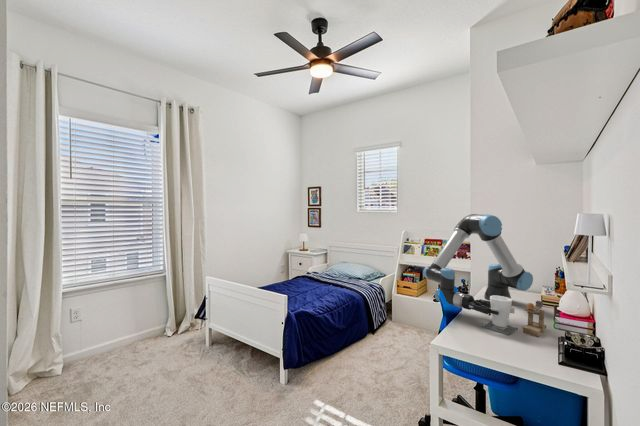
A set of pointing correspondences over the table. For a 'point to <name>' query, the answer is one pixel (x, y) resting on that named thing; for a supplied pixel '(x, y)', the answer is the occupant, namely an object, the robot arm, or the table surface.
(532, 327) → the catapult
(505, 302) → the foam cup
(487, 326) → the mat
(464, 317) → the table surface
